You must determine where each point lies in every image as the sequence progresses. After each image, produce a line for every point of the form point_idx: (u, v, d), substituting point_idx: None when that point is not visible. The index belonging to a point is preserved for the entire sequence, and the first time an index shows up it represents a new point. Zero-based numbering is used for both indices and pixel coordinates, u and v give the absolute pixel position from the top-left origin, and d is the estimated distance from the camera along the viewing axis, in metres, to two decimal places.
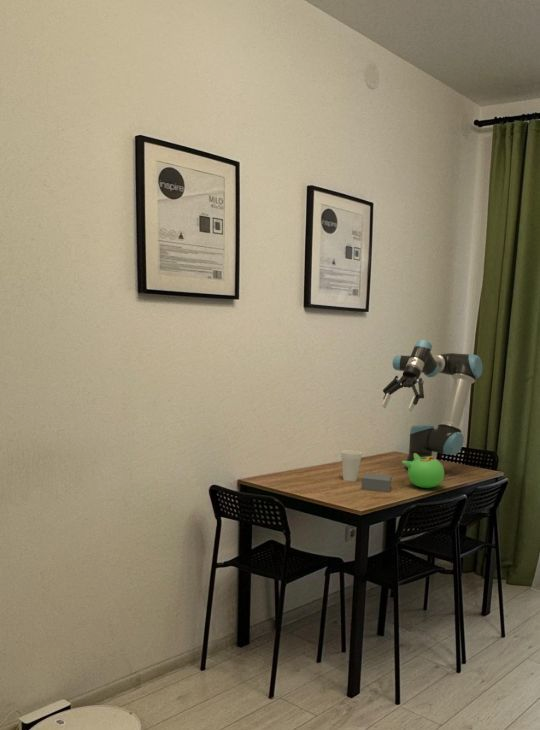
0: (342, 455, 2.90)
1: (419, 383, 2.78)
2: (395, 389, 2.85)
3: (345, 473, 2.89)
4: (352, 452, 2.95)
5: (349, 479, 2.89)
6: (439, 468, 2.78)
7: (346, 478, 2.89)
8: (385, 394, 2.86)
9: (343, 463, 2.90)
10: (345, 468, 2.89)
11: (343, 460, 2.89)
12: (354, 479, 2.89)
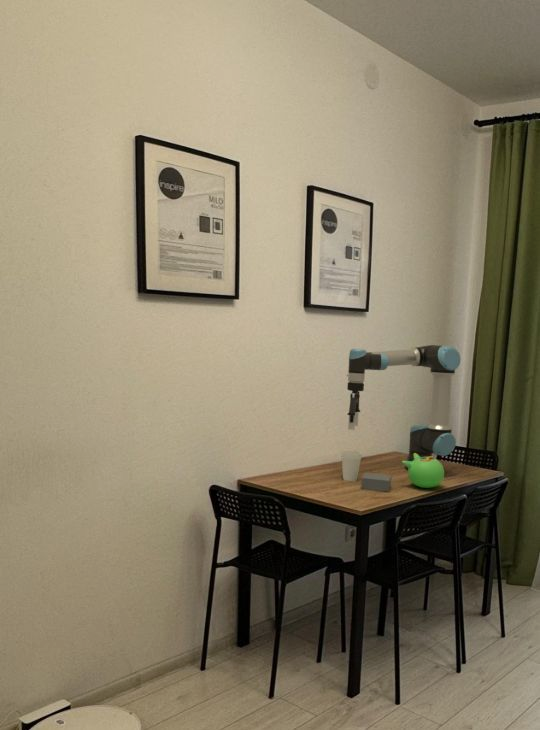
0: (342, 455, 2.90)
1: None
2: (355, 405, 2.95)
3: (345, 473, 2.89)
4: (352, 452, 2.95)
5: (349, 479, 2.89)
6: (439, 468, 2.78)
7: (346, 478, 2.89)
8: None
9: (343, 463, 2.90)
10: (345, 468, 2.89)
11: (343, 460, 2.89)
12: (354, 479, 2.89)
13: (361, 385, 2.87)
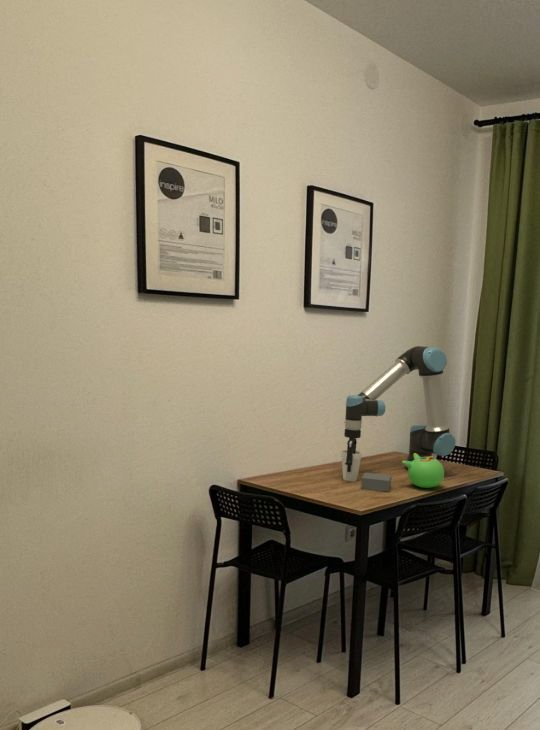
0: (342, 455, 2.90)
1: None
2: (352, 453, 2.95)
3: (345, 473, 2.89)
4: None
5: (349, 479, 2.89)
6: (439, 468, 2.78)
7: None
8: None
9: (343, 463, 2.90)
10: (345, 468, 2.89)
11: (343, 460, 2.89)
12: (354, 479, 2.89)
13: (358, 432, 2.88)
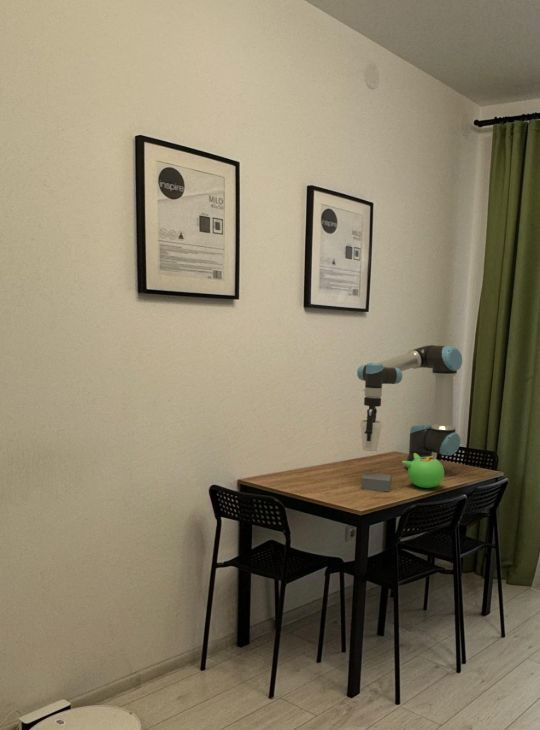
0: (361, 424, 2.80)
1: (367, 417, 2.76)
2: (372, 422, 2.85)
3: (364, 443, 2.80)
4: None
5: (369, 449, 2.79)
6: (439, 468, 2.78)
7: (365, 448, 2.80)
8: None
9: (362, 432, 2.80)
10: (364, 437, 2.79)
11: (362, 429, 2.80)
12: (374, 449, 2.79)
13: (378, 400, 2.78)
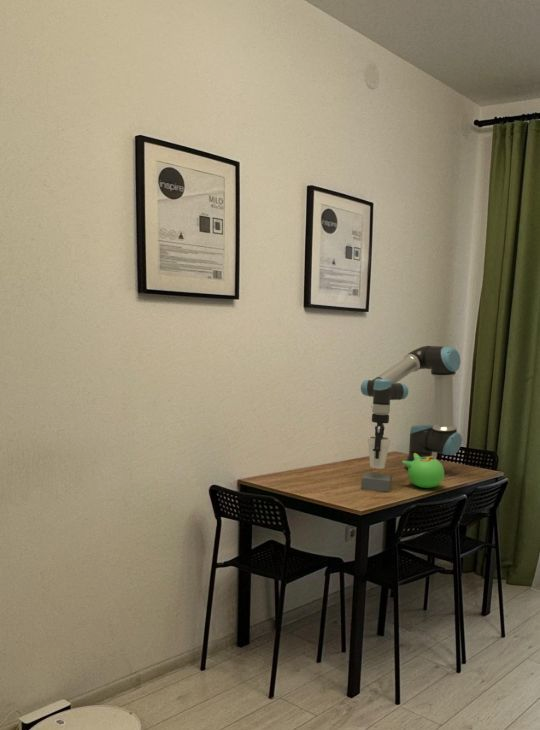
0: (369, 441, 2.76)
1: (375, 434, 2.72)
2: None
3: (372, 460, 2.76)
4: None
5: (377, 466, 2.75)
6: (439, 468, 2.78)
7: None
8: None
9: (370, 449, 2.76)
10: (372, 455, 2.75)
11: (370, 446, 2.76)
12: (382, 466, 2.76)
13: (387, 417, 2.74)
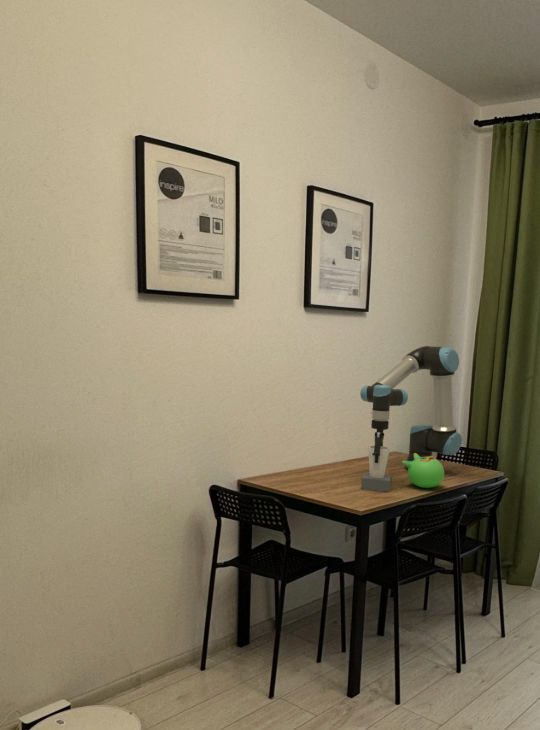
0: (369, 450, 2.76)
1: (375, 439, 2.72)
2: None
3: (372, 469, 2.76)
4: None
5: (376, 476, 2.76)
6: (439, 468, 2.78)
7: (373, 475, 2.76)
8: None
9: (370, 459, 2.77)
10: (372, 464, 2.76)
11: (370, 456, 2.76)
12: (381, 476, 2.76)
13: (386, 423, 2.75)
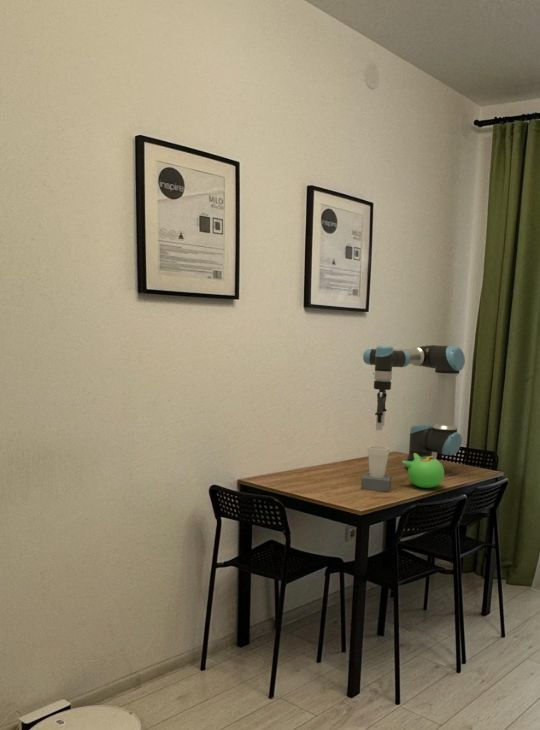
0: (369, 451, 2.76)
1: (377, 399, 2.72)
2: None
3: (372, 469, 2.76)
4: (379, 447, 2.82)
5: (376, 476, 2.76)
6: (439, 468, 2.78)
7: (373, 475, 2.76)
8: None
9: (370, 459, 2.77)
10: (372, 464, 2.76)
11: (370, 456, 2.76)
12: (381, 476, 2.76)
13: (389, 384, 2.75)
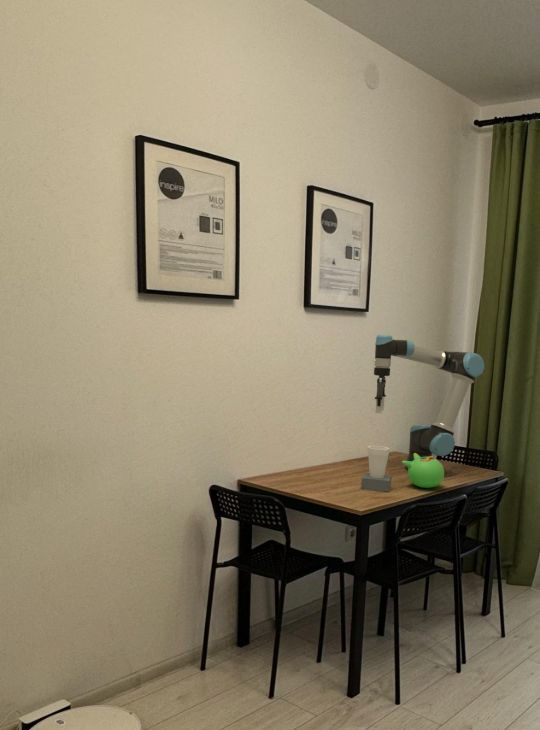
0: (369, 451, 2.76)
1: (377, 384, 2.91)
2: None
3: (372, 469, 2.76)
4: (379, 447, 2.82)
5: (376, 476, 2.76)
6: (439, 468, 2.78)
7: (373, 475, 2.76)
8: None
9: (370, 459, 2.77)
10: (372, 464, 2.76)
11: (370, 456, 2.76)
12: (382, 476, 2.76)
13: (388, 370, 2.94)
